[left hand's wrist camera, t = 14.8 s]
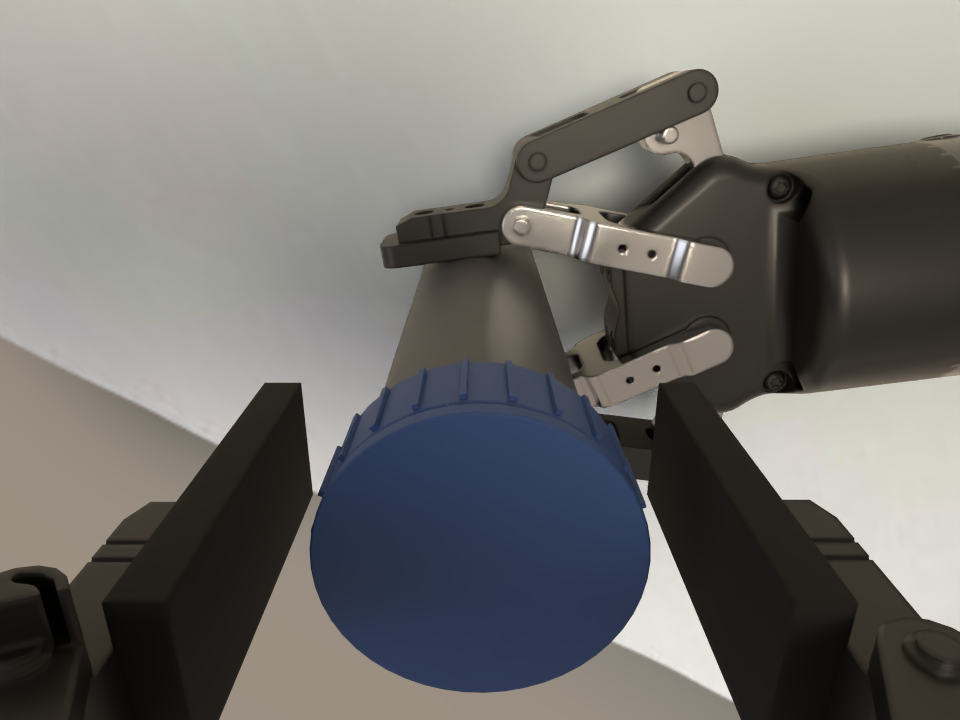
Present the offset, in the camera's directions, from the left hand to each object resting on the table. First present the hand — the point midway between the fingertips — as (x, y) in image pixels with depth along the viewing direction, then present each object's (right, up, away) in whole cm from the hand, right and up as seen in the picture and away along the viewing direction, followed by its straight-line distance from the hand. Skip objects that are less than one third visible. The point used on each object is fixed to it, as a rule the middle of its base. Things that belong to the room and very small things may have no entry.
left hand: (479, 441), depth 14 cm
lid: (0, -1, -4) cm, 4 cm away
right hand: (-3, +3, +8) cm, 9 cm away
